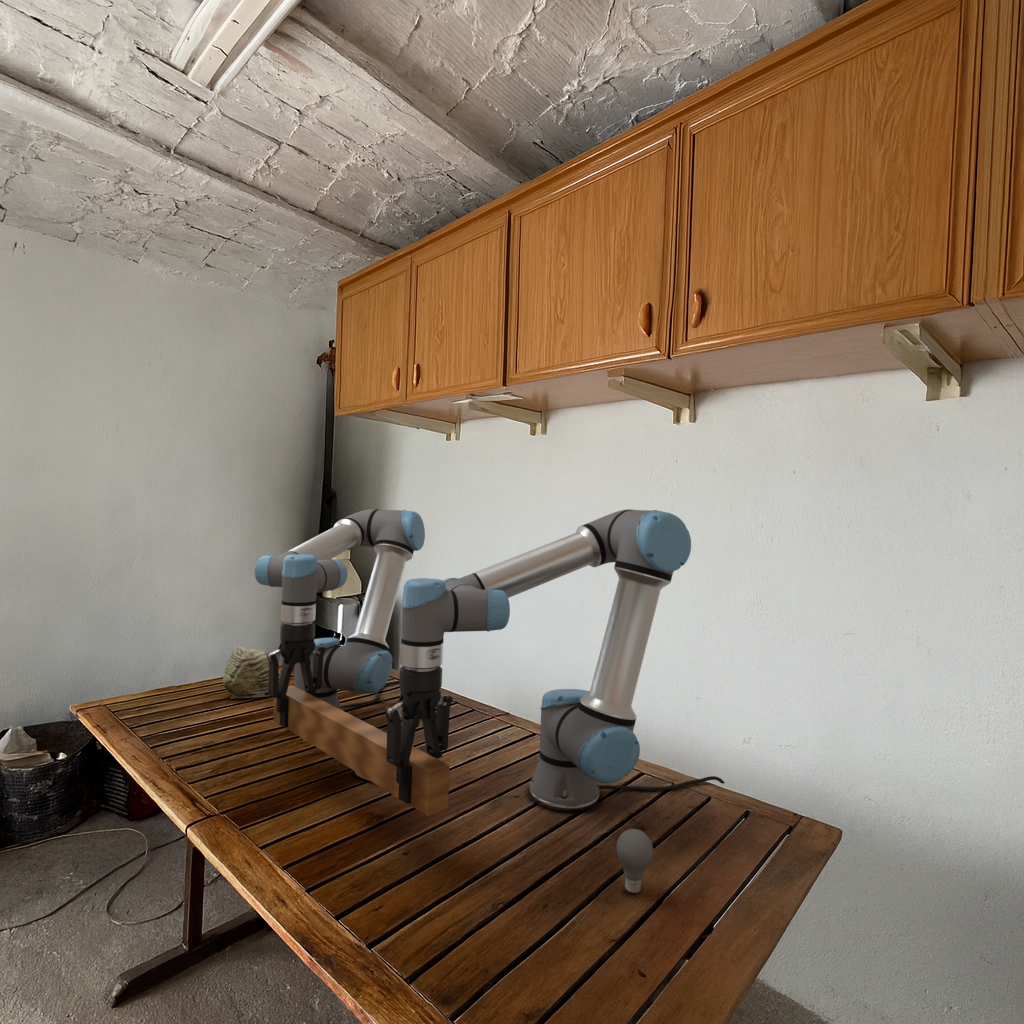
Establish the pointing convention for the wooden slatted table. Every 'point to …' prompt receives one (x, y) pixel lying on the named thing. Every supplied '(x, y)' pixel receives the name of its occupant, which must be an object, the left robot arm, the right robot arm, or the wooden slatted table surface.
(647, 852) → the light bulb
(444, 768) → the beam
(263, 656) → the fossil
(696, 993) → the wooden slatted table surface
